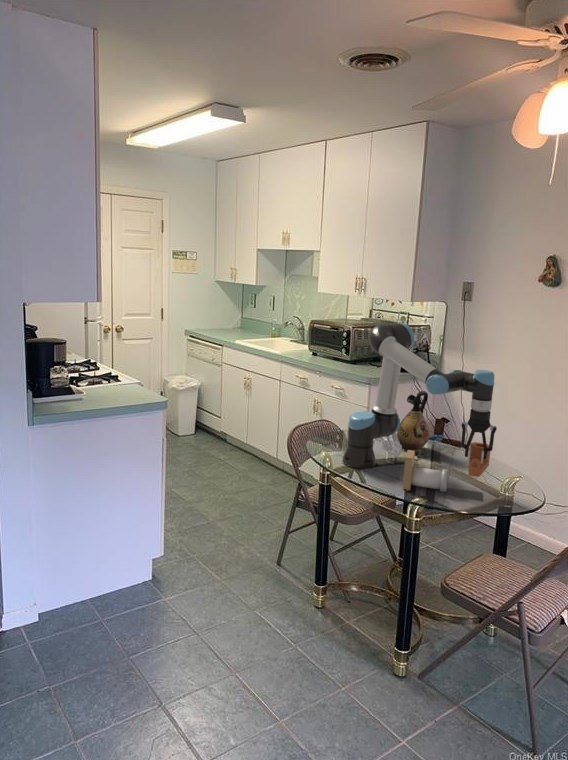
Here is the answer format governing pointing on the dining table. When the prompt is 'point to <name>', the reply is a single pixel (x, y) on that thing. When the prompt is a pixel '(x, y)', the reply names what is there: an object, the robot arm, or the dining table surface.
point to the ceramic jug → (414, 425)
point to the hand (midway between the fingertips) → (474, 465)
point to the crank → (477, 459)
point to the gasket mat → (464, 493)
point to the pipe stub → (423, 475)
